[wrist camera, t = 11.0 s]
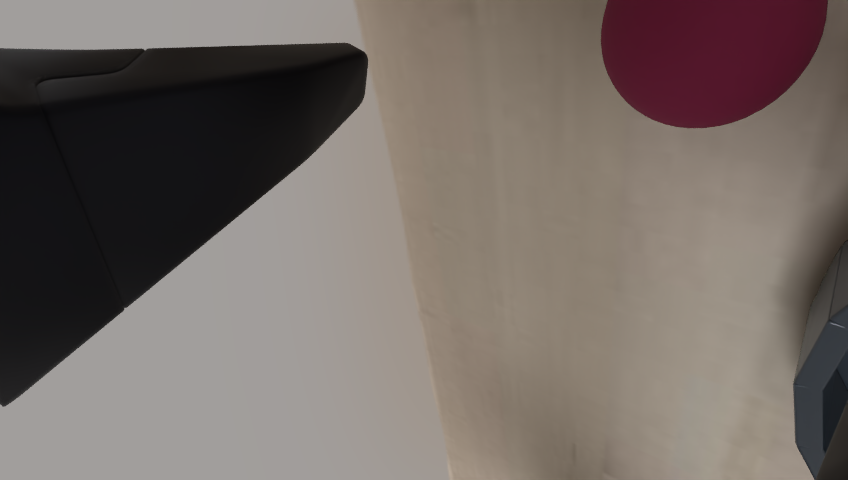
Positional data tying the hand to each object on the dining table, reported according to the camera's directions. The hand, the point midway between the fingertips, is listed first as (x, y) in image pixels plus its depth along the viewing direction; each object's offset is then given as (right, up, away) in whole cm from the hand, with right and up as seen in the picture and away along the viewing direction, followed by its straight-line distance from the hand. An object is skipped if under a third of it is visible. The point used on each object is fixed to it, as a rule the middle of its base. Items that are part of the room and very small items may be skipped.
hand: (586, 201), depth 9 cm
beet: (+6, +6, +6) cm, 10 cm away
